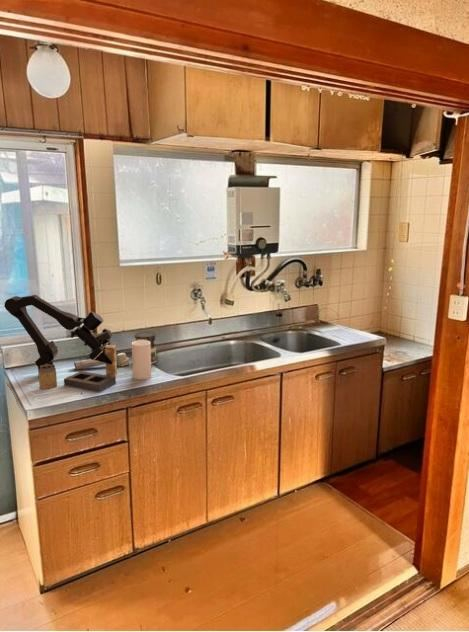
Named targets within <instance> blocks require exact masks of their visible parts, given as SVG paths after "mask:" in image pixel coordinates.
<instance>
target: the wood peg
mask: <svg viewBox="0 0 469 632" xmlns="http://www.w3.org/2000/svg"><path fill="white" fill-rule="evenodd" d="M105 354H106V355H107V356H108V358H109V359H110V360H111V361H112V362H113V363H112V364H111V365H110V364H107V363H106V364H105V375H107V376H112V377H117V375H118V366H117V362H116V355H117V345H116V344H110V345H106V347H105Z"/></svg>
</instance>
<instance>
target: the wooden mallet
mask: <svg viewBox="0 0 469 632" xmlns="http://www.w3.org/2000/svg"><path fill="white" fill-rule="evenodd" d="M116 356H117V357H116V362H117V367H126V366H128V365H130V362H129V360H130V358H129V357H127V355H126V353H125V352H121V353H118V354H117V353H116ZM73 365H74V369H75V371H82V370H85V369H89V368H94V367H98V366H101V365H102V366H103V365H106V363H104V362H100V361H96V360H92V359H90V358H89V359H85V360H84V359H83V360H82V359H80V361H79V360H78V361H74V362H73Z"/></svg>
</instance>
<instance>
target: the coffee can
mask: <svg viewBox="0 0 469 632" xmlns="http://www.w3.org/2000/svg"><path fill="white" fill-rule="evenodd" d="M156 335H157V334H156V333H155V332H151V331H140V332H137V333H134V335H133V336H134V341H138V340H146V341H150V347H151V365H152V364H155V363H156V362H157V354H156V353H157V349H156V346H157V345H156V344H157V343H156Z"/></svg>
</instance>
